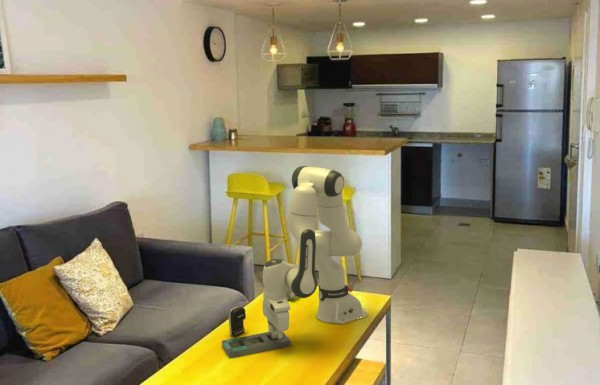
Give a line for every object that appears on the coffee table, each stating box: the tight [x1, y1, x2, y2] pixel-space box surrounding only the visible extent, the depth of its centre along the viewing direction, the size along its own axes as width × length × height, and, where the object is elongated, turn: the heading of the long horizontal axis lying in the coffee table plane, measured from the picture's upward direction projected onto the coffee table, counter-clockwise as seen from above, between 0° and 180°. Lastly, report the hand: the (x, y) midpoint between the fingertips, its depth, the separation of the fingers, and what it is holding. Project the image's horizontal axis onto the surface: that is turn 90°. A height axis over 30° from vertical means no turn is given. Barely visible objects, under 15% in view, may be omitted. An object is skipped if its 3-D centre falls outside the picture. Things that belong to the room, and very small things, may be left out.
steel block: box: [267, 322, 282, 341], centre depth 239 cm, size 4×4×8 cm
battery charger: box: [228, 305, 247, 337], centre depth 248 cm, size 7×4×11 cm, turn 140°
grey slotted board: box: [221, 331, 292, 359], centre depth 237 cm, size 25×11×3 cm, turn 112°
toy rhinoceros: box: [286, 289, 298, 301], centre depth 287 cm, size 7×12×8 cm, turn 51°
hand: (275, 333), depth 239 cm, fingers open, 8 cm apart
